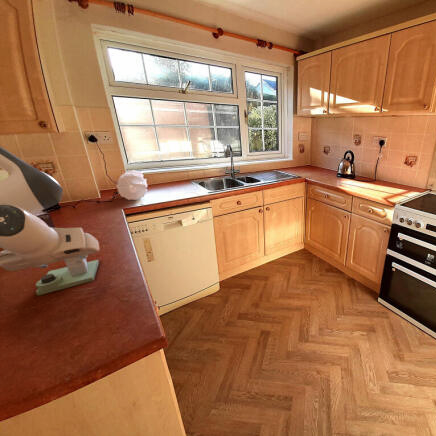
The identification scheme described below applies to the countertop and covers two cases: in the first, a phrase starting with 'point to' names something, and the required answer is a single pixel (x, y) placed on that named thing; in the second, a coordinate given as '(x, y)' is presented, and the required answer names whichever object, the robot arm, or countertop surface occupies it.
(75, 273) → the medicine box
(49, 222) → the supplement box
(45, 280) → the tare button
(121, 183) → the crumpled paper ball
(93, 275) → the scale
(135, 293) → the countertop surface
